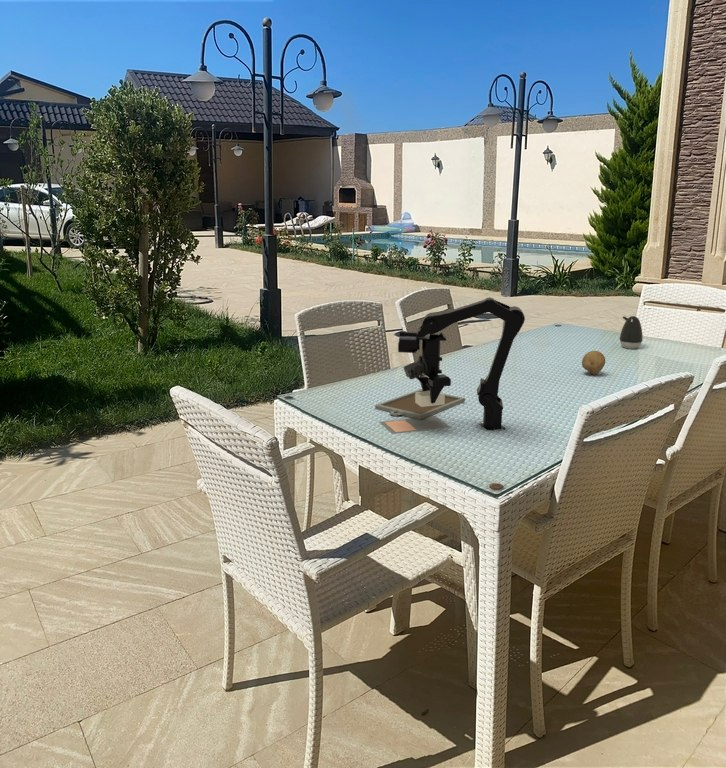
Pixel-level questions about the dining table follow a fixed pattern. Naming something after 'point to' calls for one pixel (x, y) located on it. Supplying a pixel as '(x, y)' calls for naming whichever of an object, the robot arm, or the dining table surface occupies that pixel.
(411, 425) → the mat
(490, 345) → the dining table surface
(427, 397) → the beige rectangular block
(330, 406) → the dining table surface
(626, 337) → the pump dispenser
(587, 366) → the brown potato
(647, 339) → the dining table surface
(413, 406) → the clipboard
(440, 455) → the dining table surface
